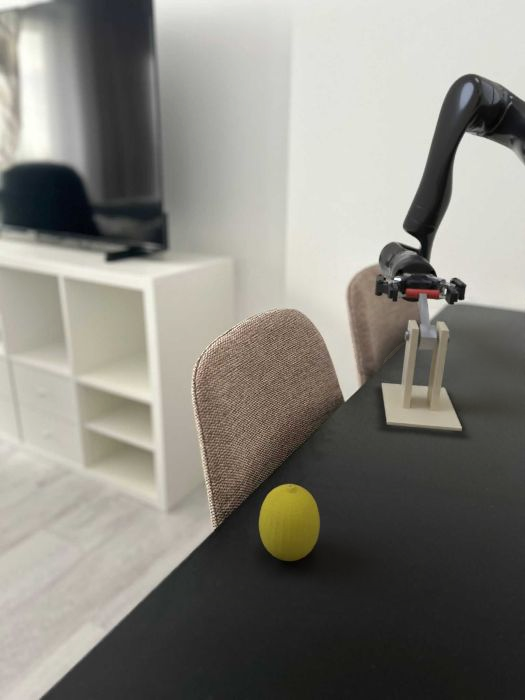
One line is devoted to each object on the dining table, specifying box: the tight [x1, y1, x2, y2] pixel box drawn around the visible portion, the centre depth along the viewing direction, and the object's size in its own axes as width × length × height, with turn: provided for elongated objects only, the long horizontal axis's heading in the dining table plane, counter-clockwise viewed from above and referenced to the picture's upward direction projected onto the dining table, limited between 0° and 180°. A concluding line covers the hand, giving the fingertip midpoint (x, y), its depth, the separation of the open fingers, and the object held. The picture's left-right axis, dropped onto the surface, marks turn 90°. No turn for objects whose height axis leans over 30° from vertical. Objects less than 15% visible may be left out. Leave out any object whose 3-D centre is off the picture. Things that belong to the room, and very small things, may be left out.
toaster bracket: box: [381, 319, 463, 432], centre depth 75 cm, size 14×10×14 cm
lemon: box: [258, 483, 321, 562], centre depth 47 cm, size 6×6×8 cm
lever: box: [405, 289, 440, 351], centre depth 77 cm, size 12×5×2 cm, turn 171°
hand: (423, 296), depth 79 cm, fingers open, 8 cm apart
